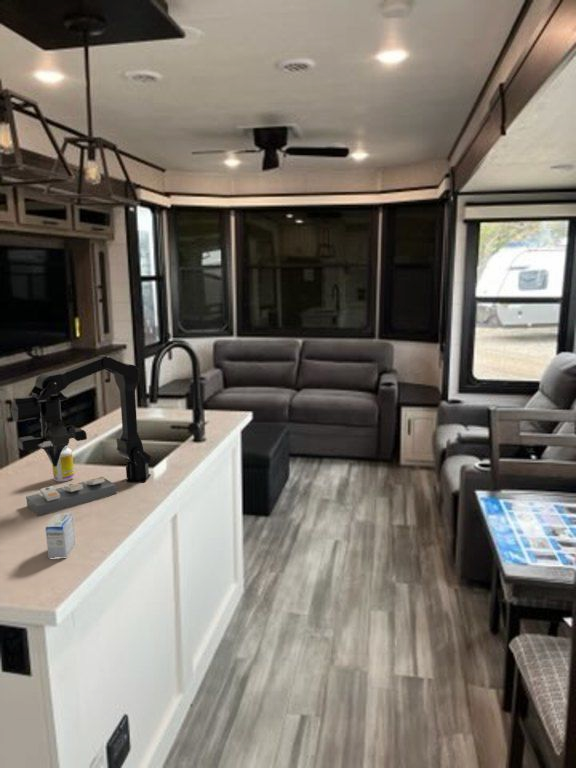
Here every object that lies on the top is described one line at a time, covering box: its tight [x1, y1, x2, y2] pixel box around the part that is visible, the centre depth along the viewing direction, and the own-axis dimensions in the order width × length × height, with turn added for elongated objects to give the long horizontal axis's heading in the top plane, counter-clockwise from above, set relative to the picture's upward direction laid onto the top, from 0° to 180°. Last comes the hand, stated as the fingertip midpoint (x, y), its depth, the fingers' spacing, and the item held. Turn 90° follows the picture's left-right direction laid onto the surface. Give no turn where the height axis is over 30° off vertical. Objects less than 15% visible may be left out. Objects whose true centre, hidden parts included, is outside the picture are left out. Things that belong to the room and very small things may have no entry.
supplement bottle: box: [51, 444, 75, 483], centre depth 194 cm, size 7×7×13 cm
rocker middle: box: [63, 482, 83, 492], centre depth 175 cm, size 6×4×1 cm, turn 41°
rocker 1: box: [39, 485, 60, 501], centre depth 170 cm, size 6×4×1 cm, turn 42°
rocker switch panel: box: [25, 476, 117, 517], centre depth 176 cm, size 24×10×4 cm, turn 131°
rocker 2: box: [85, 477, 105, 485], centre depth 179 cm, size 6×4×1 cm, turn 41°
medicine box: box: [45, 513, 76, 559], centre depth 143 cm, size 8×4×9 cm, turn 5°
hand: (54, 466), depth 173 cm, fingers closed
